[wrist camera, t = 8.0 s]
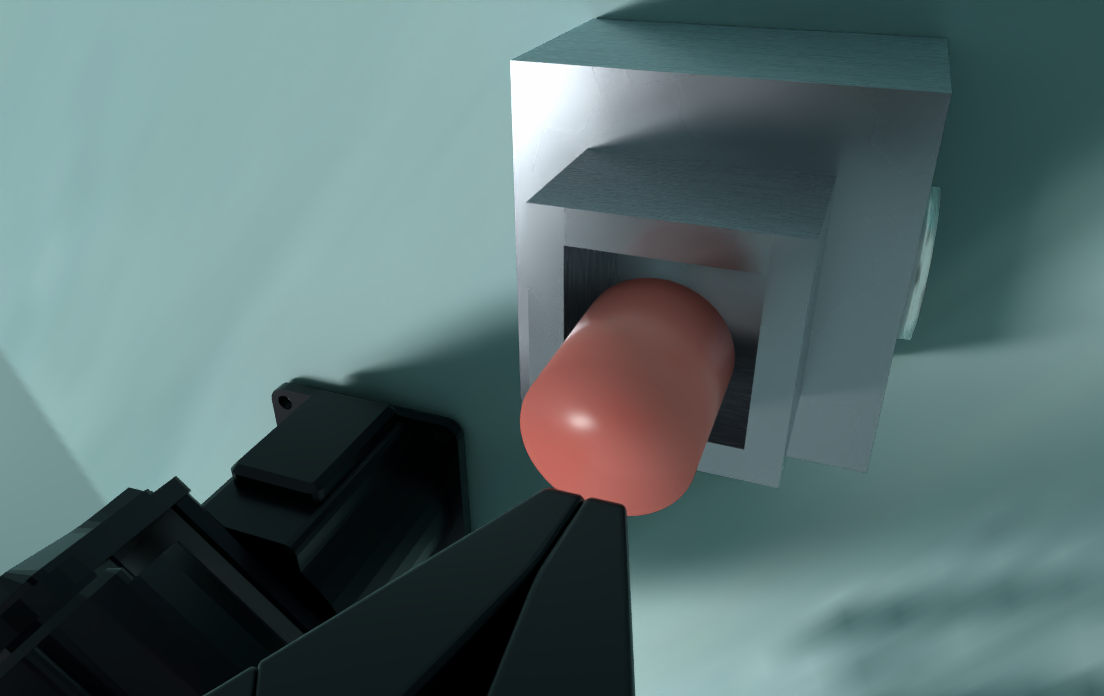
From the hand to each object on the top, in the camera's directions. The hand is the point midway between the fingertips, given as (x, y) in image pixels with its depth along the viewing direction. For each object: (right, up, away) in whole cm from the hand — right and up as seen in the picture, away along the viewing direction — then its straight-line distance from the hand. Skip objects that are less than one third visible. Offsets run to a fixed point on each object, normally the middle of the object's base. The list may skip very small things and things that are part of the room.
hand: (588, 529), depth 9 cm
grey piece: (+4, +5, +10) cm, 12 cm away
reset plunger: (+1, +2, +4) cm, 5 cm away
